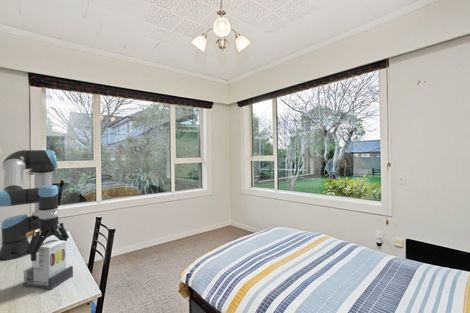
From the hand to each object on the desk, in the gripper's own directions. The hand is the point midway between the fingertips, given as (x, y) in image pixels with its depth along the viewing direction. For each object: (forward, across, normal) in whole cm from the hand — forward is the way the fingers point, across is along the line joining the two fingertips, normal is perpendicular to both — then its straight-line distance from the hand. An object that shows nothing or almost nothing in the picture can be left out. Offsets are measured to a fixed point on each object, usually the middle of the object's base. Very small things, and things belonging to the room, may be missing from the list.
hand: (49, 260), depth 117 cm
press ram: (+8, 0, +7) cm, 11 cm away
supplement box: (+9, 0, 0) cm, 9 cm away
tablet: (+12, +39, +50) cm, 64 cm away
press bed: (+10, 0, 0) cm, 10 cm away
